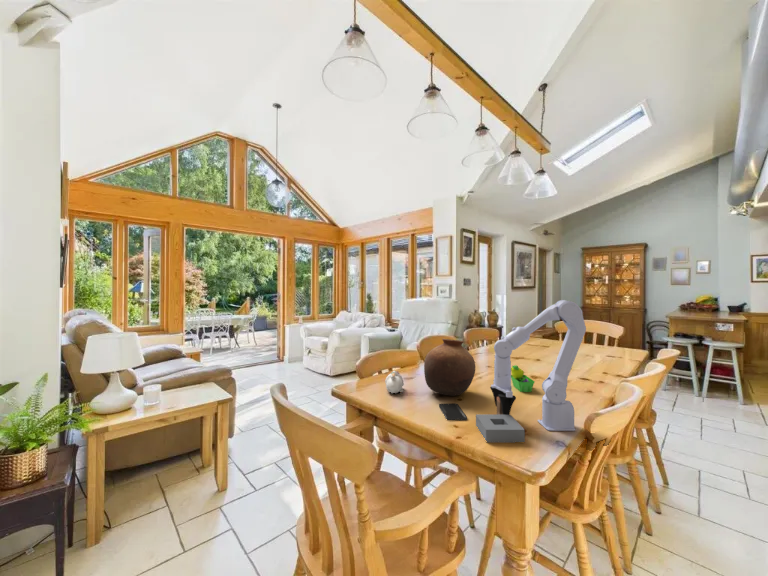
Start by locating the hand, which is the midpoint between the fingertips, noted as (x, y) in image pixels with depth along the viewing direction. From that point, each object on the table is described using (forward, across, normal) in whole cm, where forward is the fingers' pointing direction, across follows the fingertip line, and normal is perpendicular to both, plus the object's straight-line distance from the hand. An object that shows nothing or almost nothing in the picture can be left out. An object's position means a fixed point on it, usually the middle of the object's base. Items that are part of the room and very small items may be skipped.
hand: (502, 410), depth 119 cm
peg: (+3, 0, 0) cm, 4 cm away
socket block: (+3, +11, -5) cm, 13 cm away
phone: (+4, -7, -17) cm, 19 cm away
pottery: (+4, -29, -14) cm, 32 cm away
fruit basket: (+4, -36, +21) cm, 42 cm away
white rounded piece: (+4, -33, -39) cm, 51 cm away
